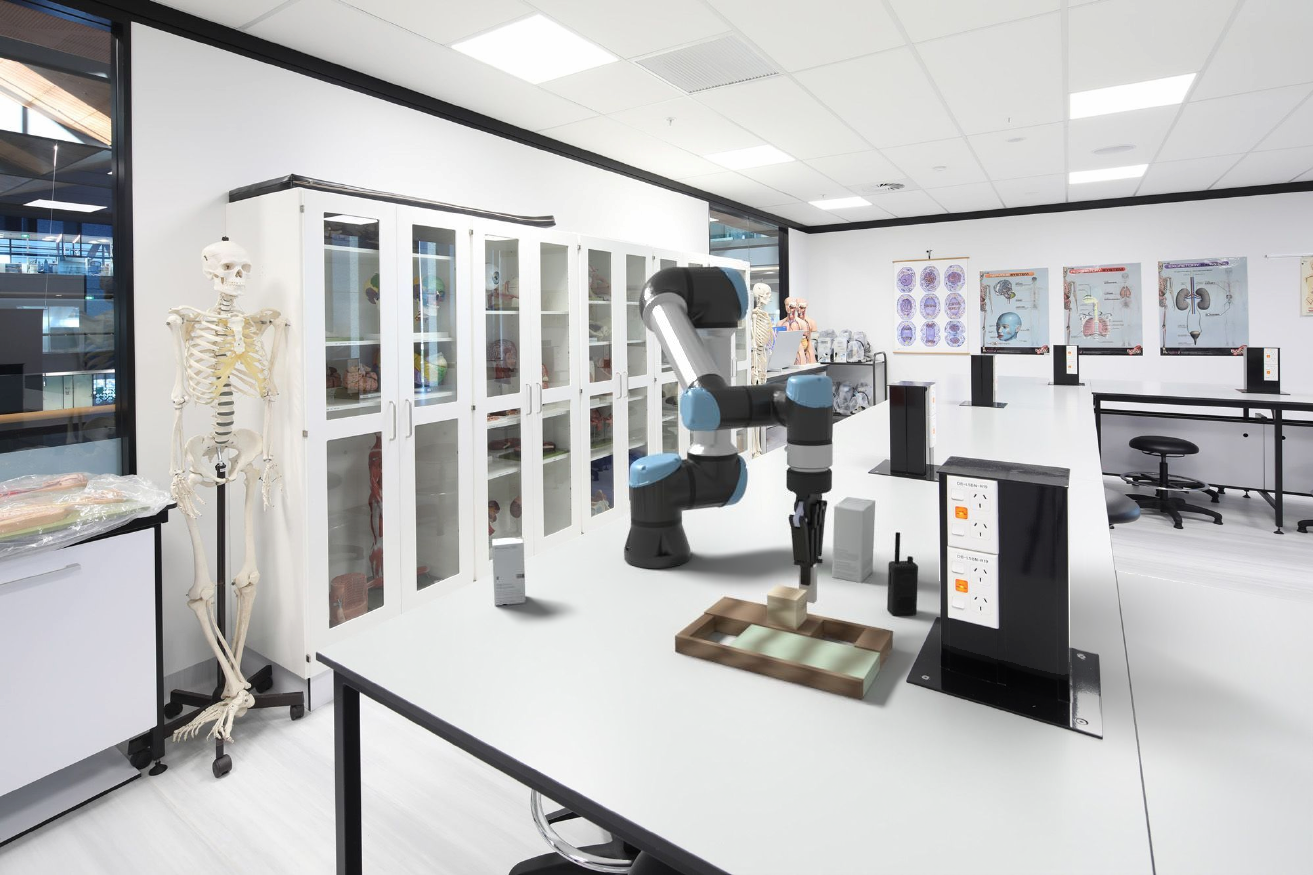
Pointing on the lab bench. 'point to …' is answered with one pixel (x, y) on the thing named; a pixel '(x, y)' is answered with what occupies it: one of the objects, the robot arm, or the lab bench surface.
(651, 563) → the robot arm
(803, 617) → the block
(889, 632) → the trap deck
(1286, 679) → the lab bench surface
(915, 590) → the walkie-talkie
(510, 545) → the skincare box
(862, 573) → the skincare box
